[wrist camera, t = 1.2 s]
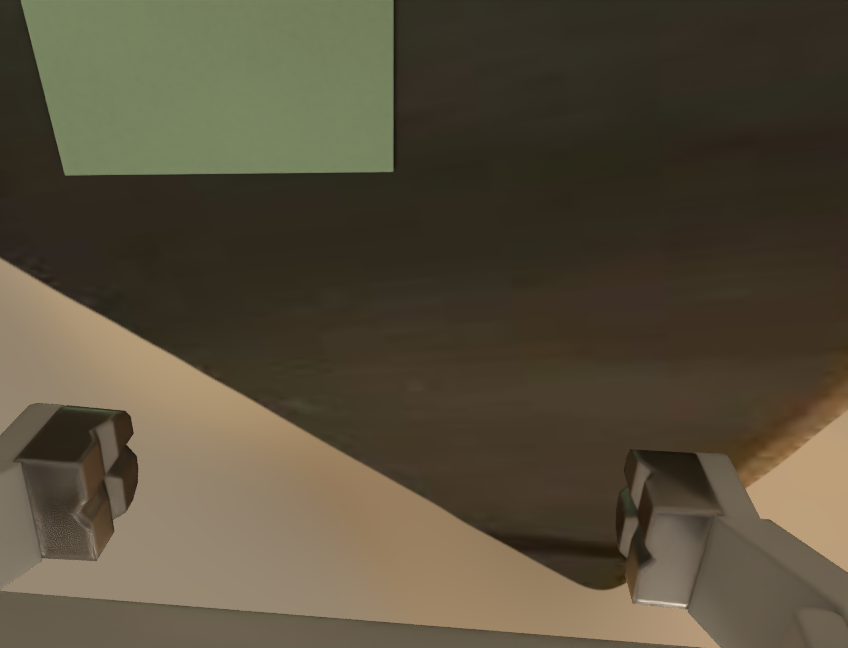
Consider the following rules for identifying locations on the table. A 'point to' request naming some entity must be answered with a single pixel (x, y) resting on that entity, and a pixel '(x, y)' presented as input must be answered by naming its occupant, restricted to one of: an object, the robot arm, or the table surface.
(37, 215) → the table surface
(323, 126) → the felt mat
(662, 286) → the table surface
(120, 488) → the robot arm
